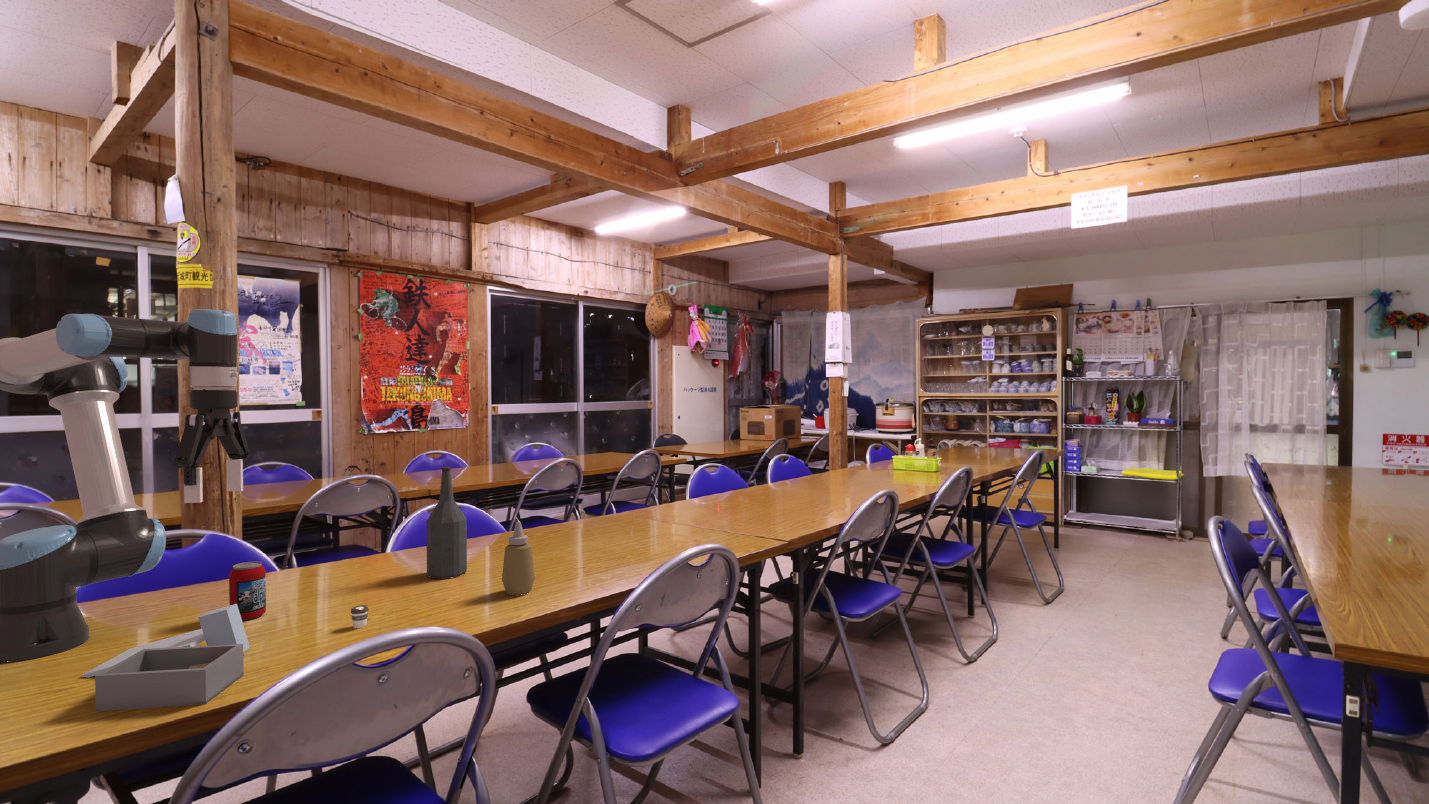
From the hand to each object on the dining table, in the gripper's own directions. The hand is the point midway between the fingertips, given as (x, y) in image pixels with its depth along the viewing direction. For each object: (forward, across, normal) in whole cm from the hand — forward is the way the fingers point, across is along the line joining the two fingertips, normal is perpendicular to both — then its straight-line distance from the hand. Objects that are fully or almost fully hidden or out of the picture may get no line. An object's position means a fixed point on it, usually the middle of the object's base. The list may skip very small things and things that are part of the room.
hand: (215, 496), depth 131 cm
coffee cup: (+31, +8, -24) cm, 40 cm away
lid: (+28, -5, +7) cm, 30 cm away
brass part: (+30, -19, -8) cm, 36 cm away
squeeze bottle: (+30, +28, -54) cm, 68 cm away
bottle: (+31, +48, -32) cm, 65 cm away
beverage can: (+31, +19, +4) cm, 36 cm away
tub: (+30, -20, -4) cm, 37 cm away
